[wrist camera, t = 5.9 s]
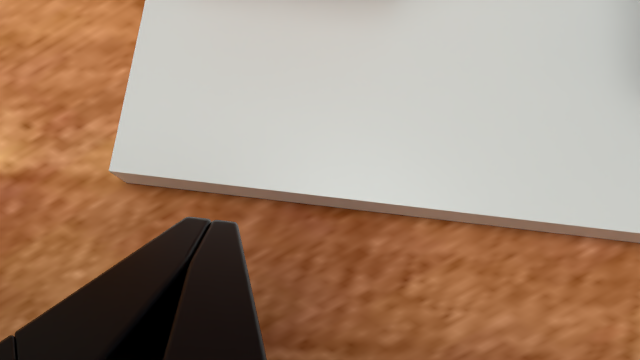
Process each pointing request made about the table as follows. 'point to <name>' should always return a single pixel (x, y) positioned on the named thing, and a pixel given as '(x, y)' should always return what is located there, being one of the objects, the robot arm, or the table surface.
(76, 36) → the table surface
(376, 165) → the grey base board
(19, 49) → the table surface
